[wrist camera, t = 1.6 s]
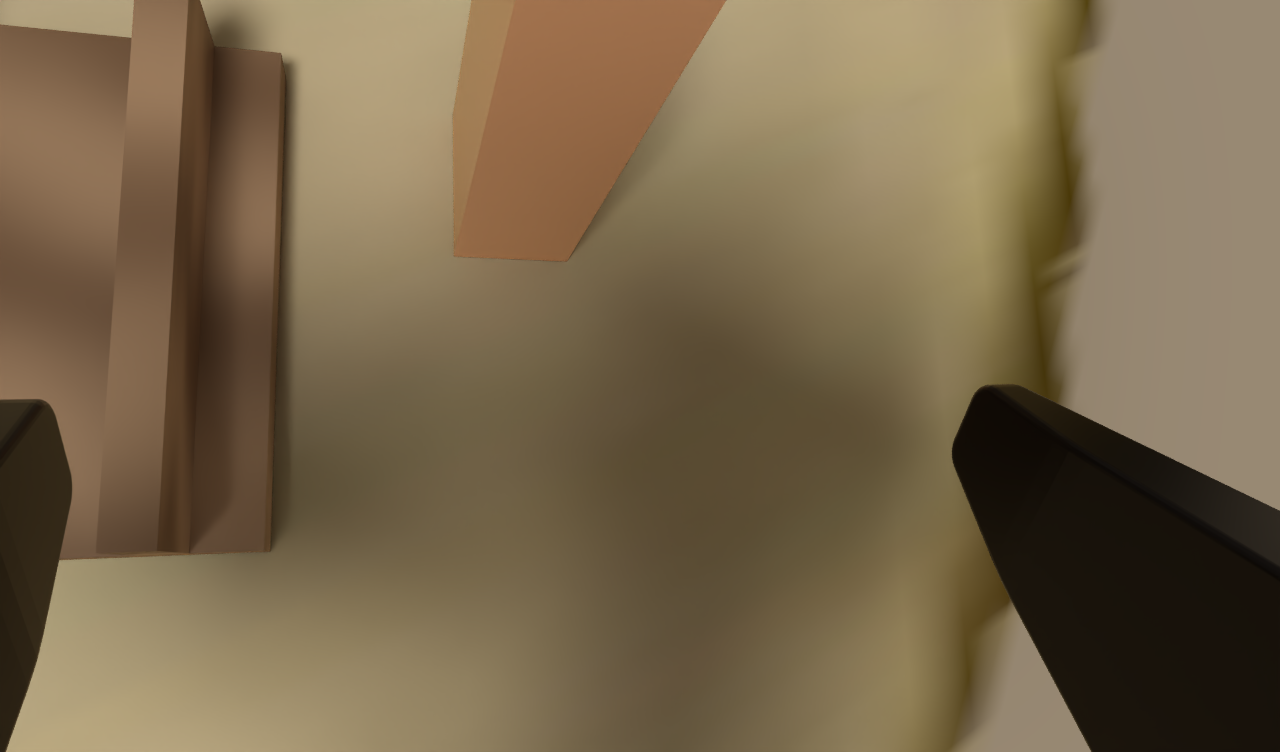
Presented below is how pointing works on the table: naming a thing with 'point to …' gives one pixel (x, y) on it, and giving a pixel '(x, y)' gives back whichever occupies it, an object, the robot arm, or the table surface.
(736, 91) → the table surface
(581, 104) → the clay slab
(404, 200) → the table surface
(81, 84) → the slotted wooden tray
